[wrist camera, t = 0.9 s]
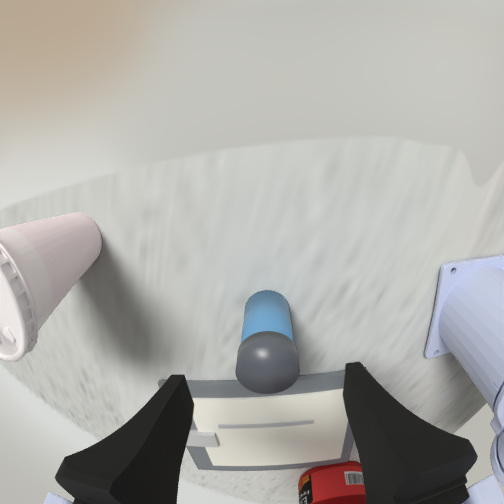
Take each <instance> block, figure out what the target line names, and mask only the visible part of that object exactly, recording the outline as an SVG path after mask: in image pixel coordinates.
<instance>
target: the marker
mask: <svg viewBox="0 0 504 504" xmlns="http://www.w3.org/2000/svg"><path fill="white" fill-rule="evenodd" d="M299 372H300V369H299V362H298V354H297V349H296V346H295V344H294V340H293V332H292V325H291V318H290V311H289V305H288V302H287V300H286V299H285V298H284V297H283V296H282V295H281V294H279V293H277V292H275V291H269V290H265V291H260V292H257V293H255V294H254V295H252V296H251V297H250V298H249V299H248V301H247V303H246V306H245V314H244V322H243V331H242V339H241V345H240V347H239V349H238V356H237V364H236V377H237V379H238V381H239V382H240V384H241V385H242V386H244V387H245V388H246V389H248V390H250V391H252V392H255V393H260V394H275V393H279V392H282V391H284V390H286V389H288V388H290V387H291V386H292V385H293V384H294V383H295V382H296V381H297V379H298V377H299Z"/></svg>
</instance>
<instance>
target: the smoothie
mask: <svg viewBox="0 0 504 504" xmlns="http://www.w3.org/2000/svg"><path fill="white" fill-rule="evenodd" d="M101 248H102V238H101V234H100V231H99V228H98V227H97V225H96V223H95V222H94V221H93V220H92V219H91V218H90V217H89V216H87V215H86V214H83V213H79V212H75V213H70V214H65V215H60V216H55V217H50V218H45V219H40V220H36V221H31V222H27V223H22V224H18V225H14V226H10V227H6V228H0V359H3V360H5V361H9V362H16V361H19V360H21V359H22V358H23V357H24V356H25V355H26V354H27V353H28V352H30V351H32V350H33V348H34V346H35V344H36V343H37V338H38V330H39V329H40V328H41V326H42V325H43V324H44V323H45V321H46V320H47V319H48V317H49V316H50V315H51V313H52V312H53V311H54V309H55V308H56V307H57V306H58V304H59V303H60V302H61V301H62V299H63V298H64V297H65V296H66V294H67V293H68V292H69V291H70V290H71V288H72V287H73V286H74V285H75V284H76V282H77V281H78V280H79V279H80V278H81V276H82V275H83V274H84V273H85V272H86V271H87V269H88V268H89V267H90V266H91V265H92V264H93V263H94V262H95V260H96V259H97V258H98V257H99V255H100V252H101Z"/></svg>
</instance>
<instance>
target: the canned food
mask: <svg viewBox="0 0 504 504" xmlns="http://www.w3.org/2000/svg"><path fill="white" fill-rule="evenodd" d="M298 487H299V504H366V496H365V487H364V480H363V474H362V468H361V464H360V463H357V462H353V461H348V462H343V463H337V464H330V465H323V466H317V467H314V468H312V469H310V470H308V471H307V472H305V473H304V474H303V475H302V476H301V478H300V480H299V484H298Z"/></svg>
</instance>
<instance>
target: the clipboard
mask: <svg viewBox="0 0 504 504" xmlns="http://www.w3.org/2000/svg"><path fill="white" fill-rule="evenodd" d="M365 369H366V367H365ZM344 377H345V370H344V371H337V372H329V373H321V374H313V375H304V376H299V377H298V379H297V381H296V382H295V383H294V384H293V385H292V386H291V387H290V388H288V389H286V390H284V391H282V392H279V393H275V394H260V393H255V392H252V391H250V390H248V389H246V388H245V387H244V386H242V385H241V384H240V382H239V381H238V380H223V381H187V384H188V387H189V390H190V393H191V396H192V399H193V402H194V412H193V420H192V425H191V429H190V433H189V436H188V440H187V444H186V447H187V449H188V451H189V453H190V455H191V457H192V459H193V460H194V462H195V464H196V466H197V468H198V469H202V470H223V471H262V470H282V469H295V468H306V467H315V466H323V465H330V464H337V463H343V462H348V459H349V456H350V452H351V448H352V444H353V440H354V437H353V434H352V431H351V427H350V424H349V421H348V418H347V415H346V410H345V405H344V400H343V387H344ZM166 381H167V380H159V383H158V385H159V387H160V388H161V387H162V385H163V384H164V383H165V382H166Z"/></svg>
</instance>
